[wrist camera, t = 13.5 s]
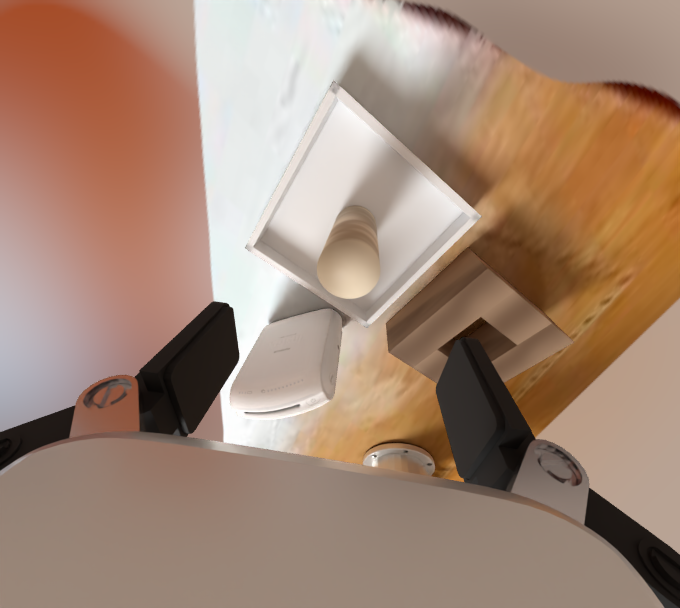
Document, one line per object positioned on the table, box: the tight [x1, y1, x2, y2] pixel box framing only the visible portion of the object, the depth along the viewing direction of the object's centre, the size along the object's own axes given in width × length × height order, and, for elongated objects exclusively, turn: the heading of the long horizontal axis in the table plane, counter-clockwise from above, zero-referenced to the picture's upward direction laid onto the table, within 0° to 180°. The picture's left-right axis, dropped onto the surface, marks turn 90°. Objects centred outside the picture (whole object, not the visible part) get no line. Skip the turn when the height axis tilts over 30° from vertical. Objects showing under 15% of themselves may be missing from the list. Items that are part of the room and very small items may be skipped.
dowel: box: [317, 205, 380, 299], centre depth 20 cm, size 4×4×10 cm
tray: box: [245, 80, 482, 328], centre depth 24 cm, size 15×15×2 cm
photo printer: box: [230, 308, 342, 420], centre depth 27 cm, size 10×4×12 cm, turn 110°
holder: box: [386, 248, 574, 383], centre depth 27 cm, size 12×12×5 cm
